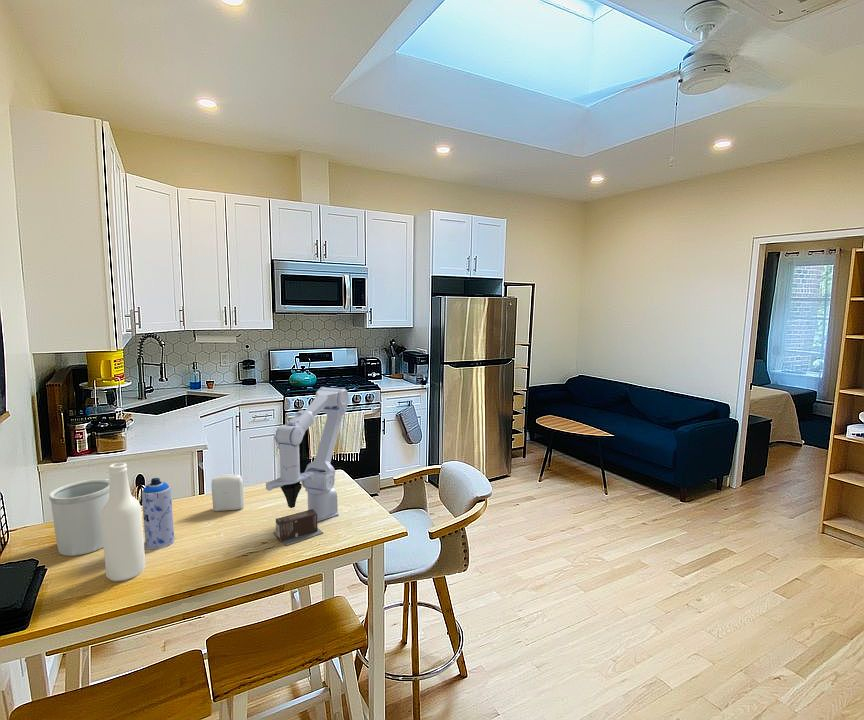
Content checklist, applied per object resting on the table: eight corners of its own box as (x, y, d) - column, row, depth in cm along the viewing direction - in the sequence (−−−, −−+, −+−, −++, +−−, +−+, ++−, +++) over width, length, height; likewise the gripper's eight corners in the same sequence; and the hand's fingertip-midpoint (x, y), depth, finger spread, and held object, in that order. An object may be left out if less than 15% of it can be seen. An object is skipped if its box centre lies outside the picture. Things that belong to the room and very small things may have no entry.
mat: (309, 521, 154) (309, 520, 154) (323, 533, 146) (323, 532, 146) (273, 533, 146) (273, 532, 146) (286, 546, 138) (286, 545, 138)
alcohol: (106, 570, 126) (96, 463, 122) (144, 560, 131) (136, 457, 127) (106, 586, 118) (96, 473, 115) (147, 575, 123) (138, 466, 120)
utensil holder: (43, 551, 135) (36, 493, 133) (96, 528, 149) (91, 475, 146) (76, 561, 130) (70, 502, 127) (128, 537, 143) (123, 482, 141)
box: (279, 524, 139) (317, 513, 146) (274, 518, 142) (312, 507, 150) (280, 543, 140) (318, 531, 147) (275, 537, 143) (312, 525, 150)
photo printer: (211, 512, 160) (209, 477, 159) (214, 506, 164) (213, 473, 163) (242, 510, 162) (241, 476, 160) (245, 505, 166) (243, 471, 164)
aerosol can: (141, 542, 140) (136, 478, 137) (170, 533, 146) (165, 472, 143) (149, 552, 135) (144, 486, 132) (178, 542, 140) (174, 478, 138)
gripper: (306, 455, 150) (307, 496, 151) (261, 465, 140) (263, 508, 142) (316, 461, 144) (317, 503, 146) (270, 472, 135) (272, 516, 137)
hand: (291, 506), depth 144 cm, fingers closed
